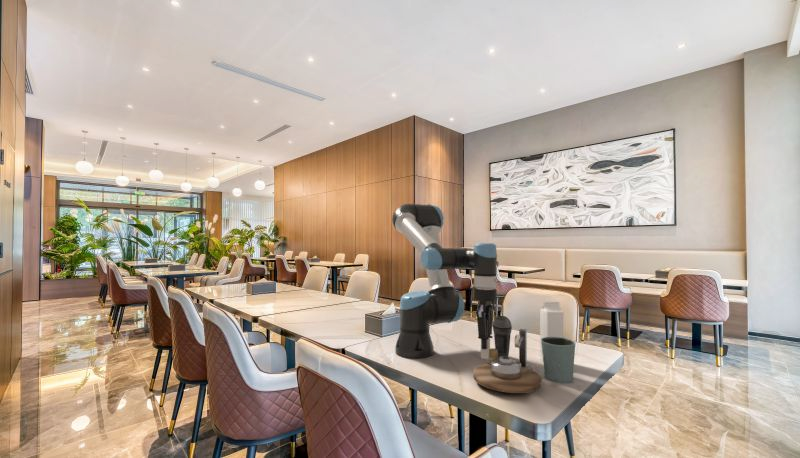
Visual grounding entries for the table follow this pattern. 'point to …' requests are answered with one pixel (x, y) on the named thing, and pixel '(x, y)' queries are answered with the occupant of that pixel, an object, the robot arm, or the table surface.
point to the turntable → (523, 385)
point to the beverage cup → (502, 334)
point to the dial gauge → (522, 347)
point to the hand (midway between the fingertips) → (485, 357)
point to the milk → (550, 322)
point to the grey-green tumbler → (558, 359)
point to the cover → (506, 368)
